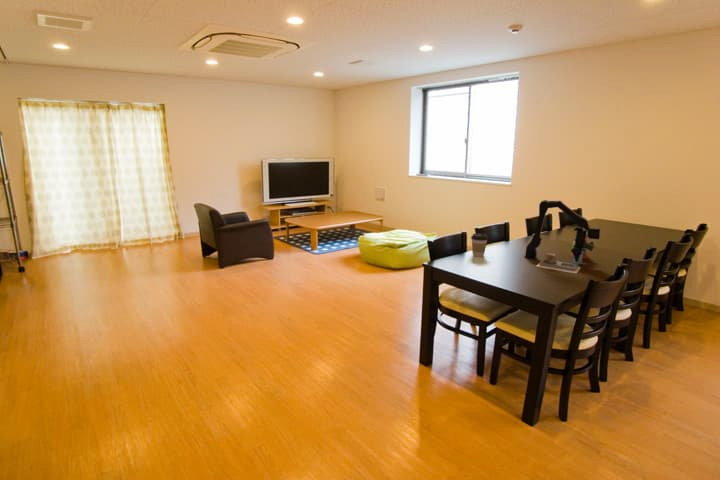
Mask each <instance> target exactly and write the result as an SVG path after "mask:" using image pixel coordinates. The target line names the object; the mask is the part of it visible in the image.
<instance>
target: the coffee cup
mask: <svg viewBox="0 0 720 480" xmlns="http://www.w3.org/2000/svg"><path fill="white" fill-rule="evenodd" d="M487 235H488V234H485V233H479V232H478V233H473V234H472V235H471V237H470V238H471V253H472V256H473V257H474V258H484V256H485V252H486V248H487V243H488V240H489V237H488V236H487Z"/></svg>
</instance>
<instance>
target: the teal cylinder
mask: <svg viewBox="0 0 720 480" xmlns="http://www.w3.org/2000/svg"><path fill="white" fill-rule="evenodd" d="M582 256H583V253H582V254H581V255H580V257H579V259H578V262H576V261H575V258H573V257H572V264H577V265H582V262H583V258H582Z"/></svg>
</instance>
